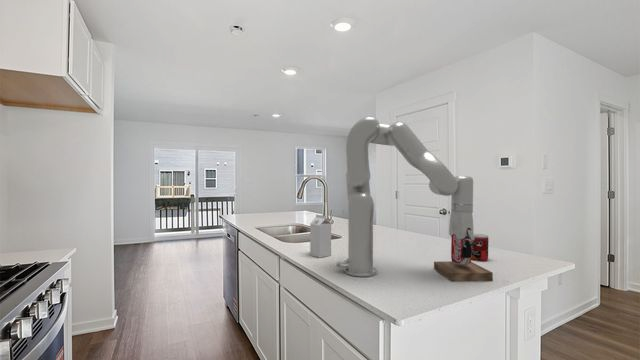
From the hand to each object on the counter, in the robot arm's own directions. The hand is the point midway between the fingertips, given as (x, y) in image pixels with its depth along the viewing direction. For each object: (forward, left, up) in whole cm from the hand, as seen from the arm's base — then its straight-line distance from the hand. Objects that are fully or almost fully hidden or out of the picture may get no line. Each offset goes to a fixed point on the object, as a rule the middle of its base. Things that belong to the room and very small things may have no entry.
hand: (461, 254), depth 118 cm
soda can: (0, 0, -4) cm, 4 cm away
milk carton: (-52, +31, -8) cm, 61 cm away
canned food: (+19, +21, -8) cm, 29 cm away
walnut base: (0, 0, -8) cm, 8 cm away
